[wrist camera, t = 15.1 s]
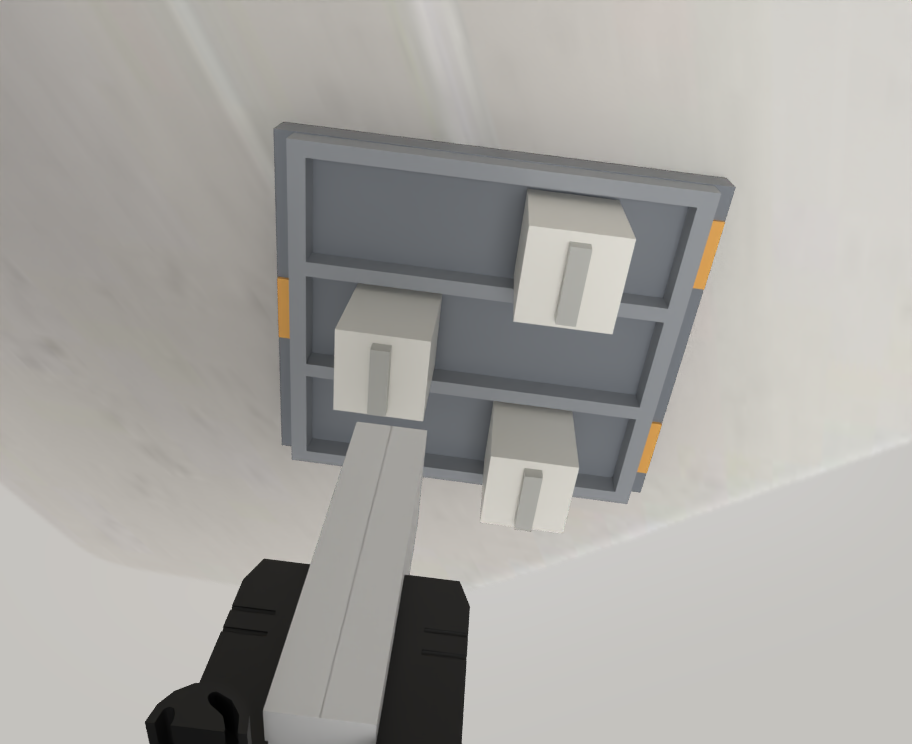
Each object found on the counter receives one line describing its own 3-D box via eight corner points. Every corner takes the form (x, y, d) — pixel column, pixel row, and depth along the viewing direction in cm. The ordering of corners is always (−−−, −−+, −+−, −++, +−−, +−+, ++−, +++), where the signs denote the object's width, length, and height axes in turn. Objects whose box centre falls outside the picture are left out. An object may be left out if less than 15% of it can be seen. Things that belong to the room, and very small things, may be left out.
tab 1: (356, 355, 35) (330, 417, 30) (358, 282, 33) (331, 335, 28) (434, 365, 35) (421, 429, 30) (442, 292, 33) (429, 348, 28)
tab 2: (513, 274, 32) (513, 328, 27) (527, 188, 30) (529, 230, 25) (599, 285, 32) (614, 341, 27) (619, 200, 30) (638, 244, 25)
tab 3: (484, 459, 38) (479, 531, 33) (494, 397, 36) (490, 464, 31) (557, 468, 38) (563, 542, 33) (571, 407, 36) (580, 476, 31)
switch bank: (289, 429, 40) (275, 458, 38) (283, 121, 31) (264, 134, 29) (636, 475, 40) (643, 506, 37) (726, 178, 31) (743, 195, 29)
